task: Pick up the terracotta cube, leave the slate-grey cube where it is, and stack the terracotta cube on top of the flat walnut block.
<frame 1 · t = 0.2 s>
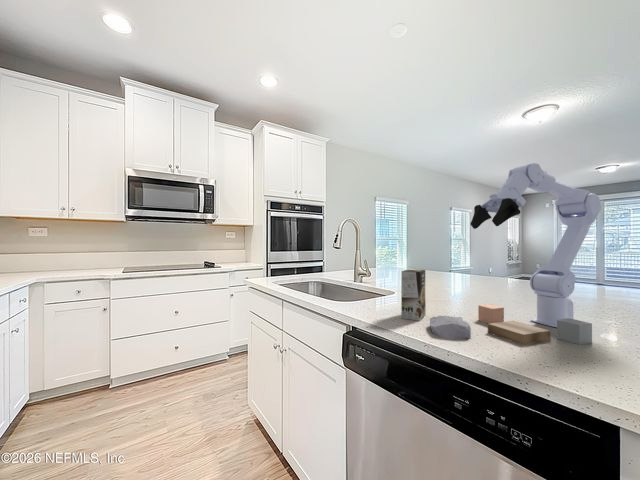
hand: (483, 225, 80), 31 cm above the table, tool tilted 45°, fingers open, 7 cm apart
slate grey cube: (574, 340, 73), on the table
coffee box: (413, 317, 96), on the table
walnut block: (517, 338, 76), on the table
terracotta cube: (491, 321, 90), on the table
stone block: (447, 332, 81), on the table
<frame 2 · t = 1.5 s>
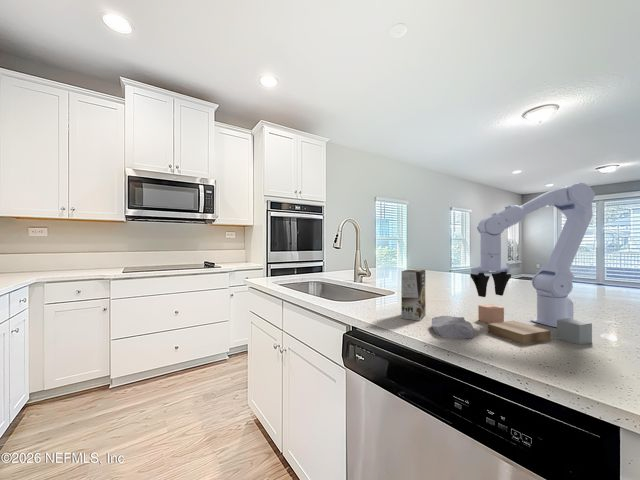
hand: (490, 295, 90), 8 cm above the table, tool pointing down, fingers open, 7 cm apart
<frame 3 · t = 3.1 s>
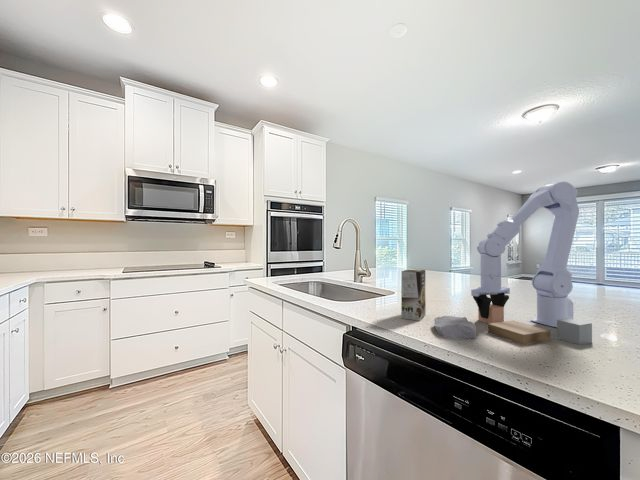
hand: (490, 317, 90), 1 cm above the table, tool pointing down, fingers closed on terracotta cube, 5 cm apart
terracotta cube: (490, 321, 90), on the table, touching gripper
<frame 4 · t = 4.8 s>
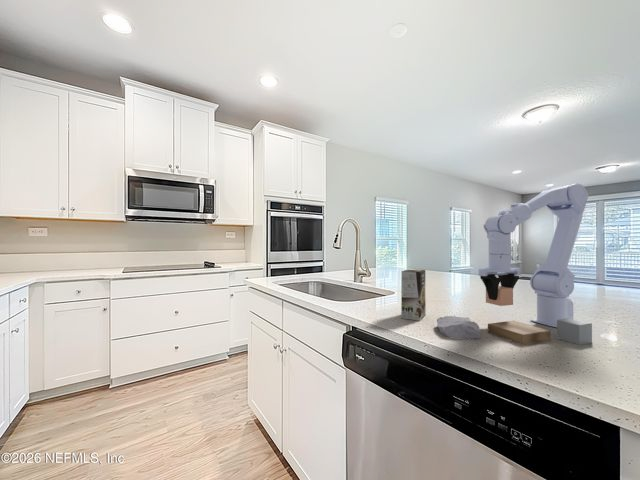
hand: (499, 298, 85), 8 cm above the table, tool pointing down, fingers closed on terracotta cube, 5 cm apart
terracotta cube: (499, 303, 85), point 7 cm above the table, touching gripper
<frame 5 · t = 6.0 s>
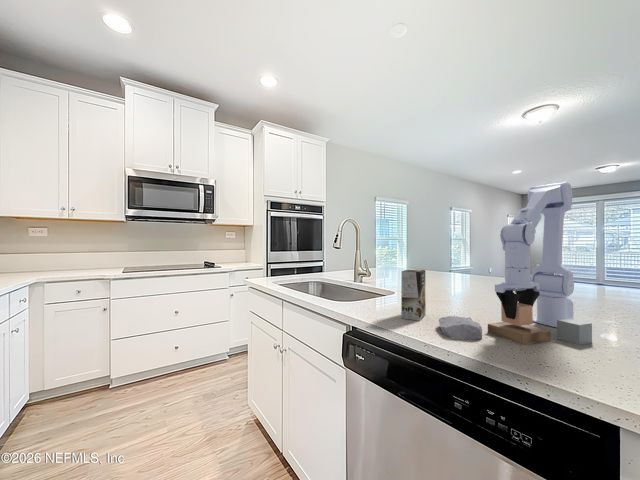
hand: (517, 317, 76), 5 cm above the table, tool pointing down, fingers closed on terracotta cube, 5 cm apart
terracotta cube: (516, 322, 76), point 4 cm above the table, touching gripper
when the fingers open (5 cm above the table, at t = 6.8 s): terracotta cube drops 1 cm, point 2 cm above the table.
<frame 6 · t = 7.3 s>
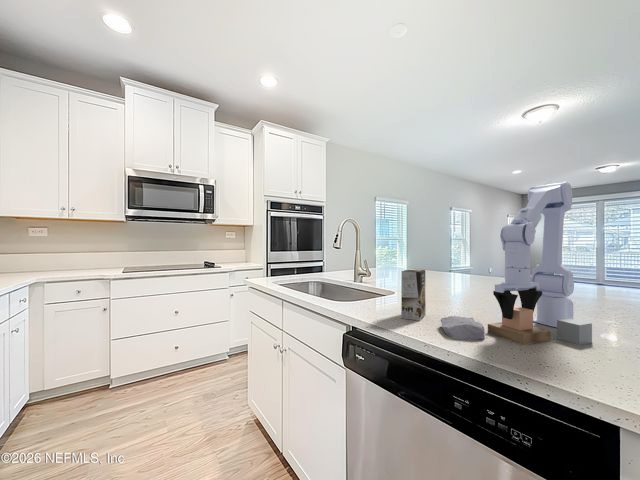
hand: (517, 317, 76), 5 cm above the table, tool pointing down, fingers open, 7 cm apart
terracotta cube: (517, 326, 76), point 2 cm above the table
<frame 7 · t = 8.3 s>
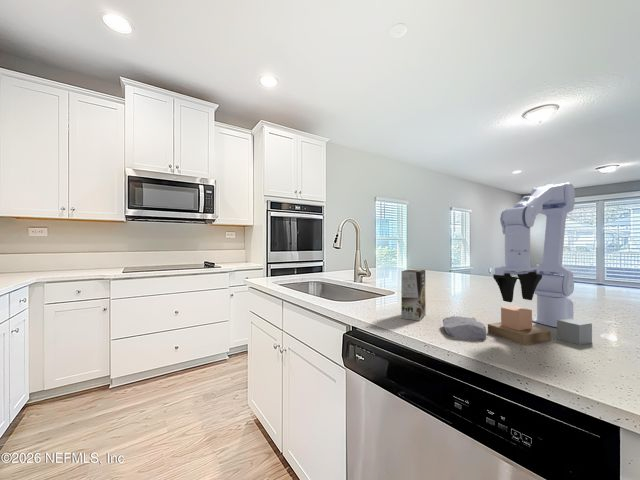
hand: (517, 300, 76), 10 cm above the table, tool pointing down, fingers open, 7 cm apart
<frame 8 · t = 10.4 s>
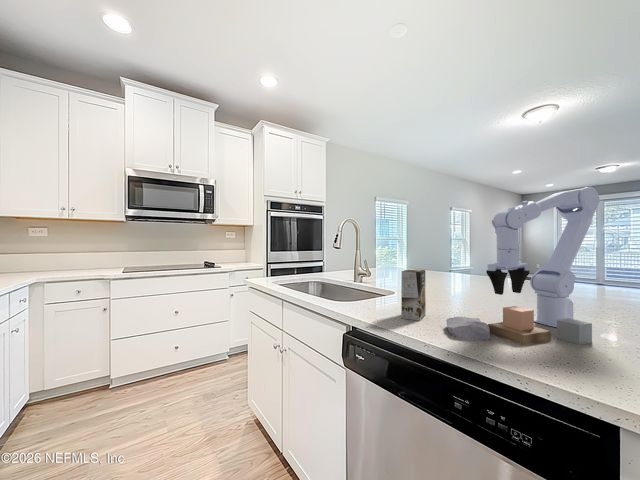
hand: (507, 293, 86), 10 cm above the table, tool pointing down, fingers open, 7 cm apart
at the end: terracotta cube inside the target area on the walnut block (0.4 cm from its centre), point 3.0 cm above the walnut block's base; terracotta cube tilted 0°; terracotta cube touching nothing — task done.
